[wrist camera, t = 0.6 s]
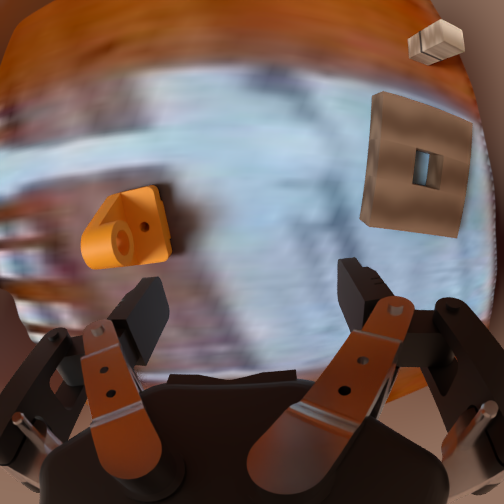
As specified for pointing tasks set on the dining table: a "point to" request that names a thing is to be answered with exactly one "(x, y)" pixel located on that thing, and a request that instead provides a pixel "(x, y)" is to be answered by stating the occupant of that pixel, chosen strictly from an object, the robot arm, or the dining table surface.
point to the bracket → (127, 231)
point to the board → (402, 167)
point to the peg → (436, 43)
